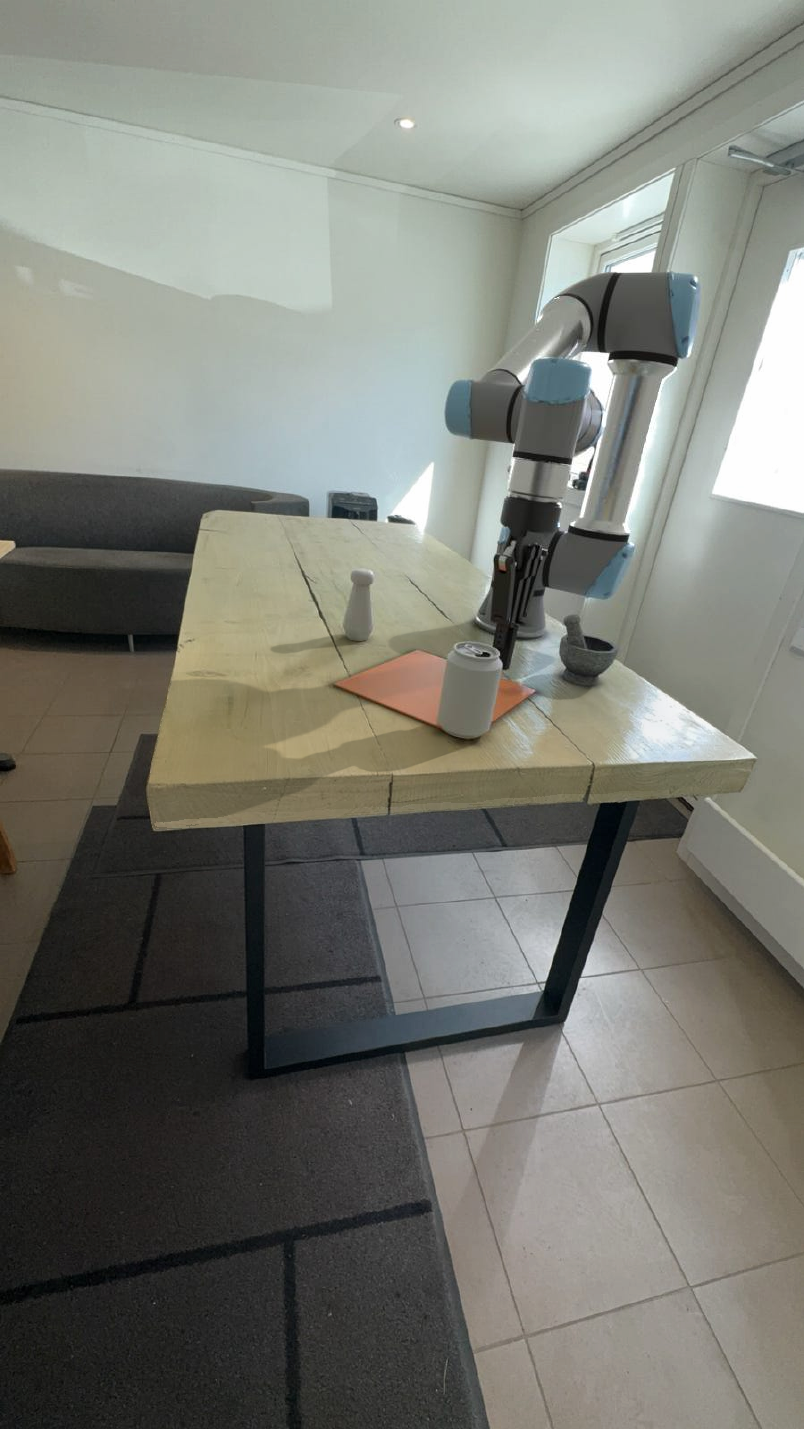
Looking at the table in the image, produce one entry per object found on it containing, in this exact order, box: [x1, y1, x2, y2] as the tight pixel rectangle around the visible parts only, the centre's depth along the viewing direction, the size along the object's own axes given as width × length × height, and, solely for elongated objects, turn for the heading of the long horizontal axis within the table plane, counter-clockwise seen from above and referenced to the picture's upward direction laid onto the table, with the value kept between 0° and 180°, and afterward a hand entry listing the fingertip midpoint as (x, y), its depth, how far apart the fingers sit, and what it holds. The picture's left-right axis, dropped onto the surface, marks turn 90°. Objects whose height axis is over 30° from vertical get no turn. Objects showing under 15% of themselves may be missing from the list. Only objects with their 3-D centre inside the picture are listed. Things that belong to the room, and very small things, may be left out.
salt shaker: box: [342, 567, 375, 642], centre depth 110 cm, size 6×6×13 cm
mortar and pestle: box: [558, 613, 619, 687], centre depth 104 cm, size 11×9×12 cm
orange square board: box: [333, 649, 537, 741], centre depth 95 cm, size 24×24×1 cm
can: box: [437, 641, 503, 739], centre depth 80 cm, size 8×8×12 cm
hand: (499, 666), depth 86 cm, fingers closed
